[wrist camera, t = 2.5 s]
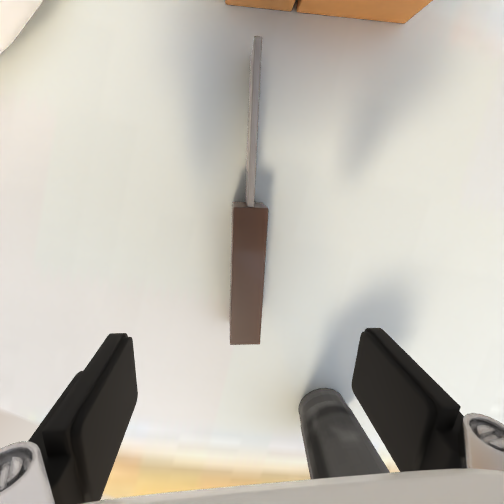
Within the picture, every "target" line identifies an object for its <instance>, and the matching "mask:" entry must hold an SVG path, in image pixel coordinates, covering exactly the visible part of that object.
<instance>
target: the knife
mask: <svg viewBox="0 0 504 504" xmlns="http://www.w3.org/2000/svg"><path fill="white" fill-rule="evenodd" d="M261 47H262V37H259V36H255V37H254V42H253V47H252V52H251V58H250V85H249V112H248V139H247V166H246V193H245V202H233V204H232V247H231V289H230V345H240V344H260V334H261V318H262V302H263V286H264V271H265V255H266V239H267V223H268V208H267V207H266V206H265V205H264V204H263V203H258V202H254V195H255V174H256V153H257V131H258V110H259V89H260V68H261Z"/></svg>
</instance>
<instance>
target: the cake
mask: <svg viewBox="0 0 504 504" xmlns="http://www.w3.org/2000/svg"><path fill="white" fill-rule="evenodd" d="M431 1H433V0H297V12H301V13H310V14H320V15H329V16H338V17H348V18H357V19H367V20H376V21H385V22H395V23H406V22H407V21H408V20H409V19H411V18H412V17H413V16H414V15H415V14H417V13H418V12H419V11H420V10H422V9H423V8H424V7H425V6H426V5H428V4H429V3H430V2H431Z"/></svg>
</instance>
